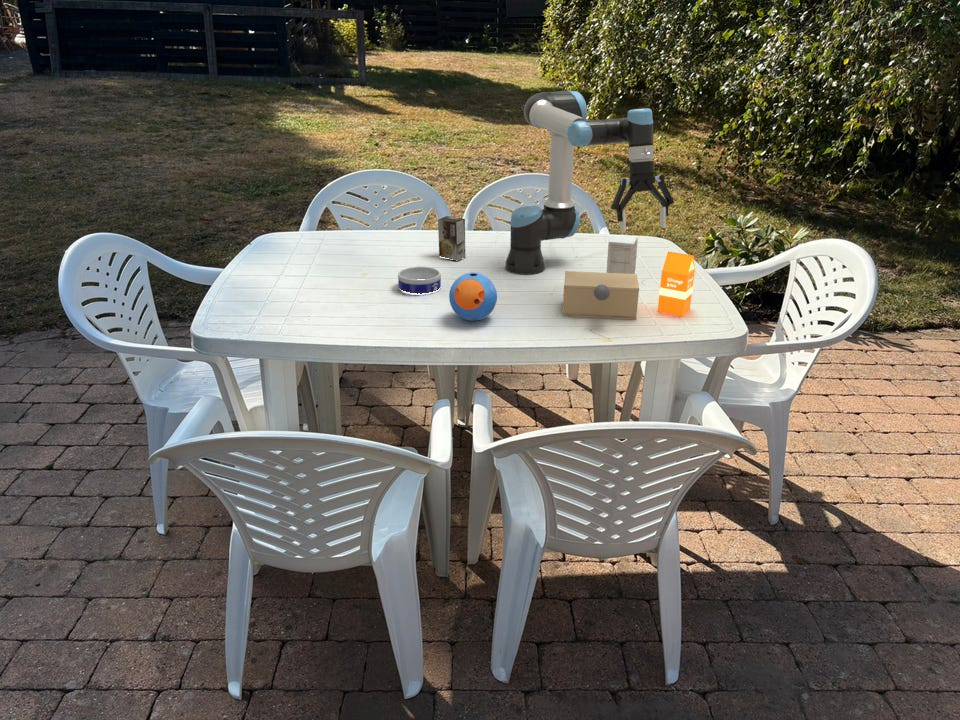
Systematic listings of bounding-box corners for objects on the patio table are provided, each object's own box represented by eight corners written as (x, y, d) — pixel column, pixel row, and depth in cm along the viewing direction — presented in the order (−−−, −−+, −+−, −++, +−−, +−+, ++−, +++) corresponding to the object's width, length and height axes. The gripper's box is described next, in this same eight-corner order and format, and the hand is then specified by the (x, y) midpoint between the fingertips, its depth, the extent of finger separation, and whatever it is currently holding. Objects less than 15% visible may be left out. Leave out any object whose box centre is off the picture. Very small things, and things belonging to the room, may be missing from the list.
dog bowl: (417, 278, 289) (416, 263, 286) (449, 287, 281) (449, 271, 278) (389, 290, 278) (389, 274, 275) (423, 299, 270) (422, 283, 267)
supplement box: (635, 280, 287) (639, 236, 280) (631, 288, 279) (635, 243, 272) (609, 277, 290) (612, 234, 282) (604, 285, 282) (608, 241, 275)
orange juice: (682, 316, 255) (689, 258, 246) (657, 311, 259) (663, 254, 250) (690, 309, 261) (697, 252, 252) (665, 304, 265) (671, 248, 256)
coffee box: (466, 258, 311) (465, 218, 304) (457, 262, 306) (456, 222, 299) (447, 254, 315) (446, 215, 308) (438, 258, 310) (437, 219, 304)
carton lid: (562, 300, 243) (563, 285, 241) (565, 276, 264) (565, 262, 262) (640, 304, 240) (641, 289, 238) (636, 279, 261) (637, 265, 259)
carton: (562, 316, 255) (563, 287, 251) (563, 300, 268) (565, 273, 263) (636, 319, 252) (638, 290, 248) (634, 304, 265) (636, 276, 261)
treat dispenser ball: (500, 312, 258) (501, 268, 252) (491, 329, 245) (491, 284, 238) (456, 308, 262) (455, 265, 255) (444, 325, 248) (443, 280, 241)
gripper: (608, 164, 234) (610, 234, 239) (684, 157, 239) (685, 226, 244) (599, 164, 241) (601, 232, 246) (672, 157, 246) (674, 225, 251)
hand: (643, 229), depth 245 cm, fingers open, 13 cm apart
